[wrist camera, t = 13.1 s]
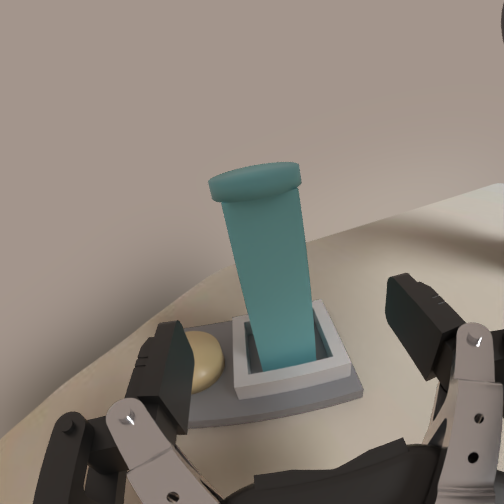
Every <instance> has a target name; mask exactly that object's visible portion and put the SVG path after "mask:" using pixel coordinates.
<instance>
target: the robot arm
mask: <svg viewBox="0 0 504 504" xmlns="http://www.w3.org/2000/svg"><path fill="white" fill-rule="evenodd" d="M501 28H502V36H503V42H504V4H503V9H502V18H501ZM385 314H386V319H387V322H388V324H389V325H390V327H391V328H392V330H393V331H394V333H395V334H396V336H397V337H398V339H399V340H400V342H401V343H402V345H403V346H404V348H405V349H406V351H407V352H408V354H409V355H410V357H411V358H412V360H413V361H414V363H415V365H416V366H417V368H418V369H419V371H420V372H421V374H422V376H423V377H424V379H425V380H426V381H428V380H430V379H433V378H435V377H437V378H438V380H439V382H438V384H437V389H436V394H435V400H434V405H433V409H432V414H431V418H430V423H429V426H428V430H427V432H426V434H425V437H424V439H423V442H422V444H409V445H406V443H405V441H404V439H403V437H402V438H400V439H398V440H395V441H393V442H390V443H387V444H385V445H382V446H379V447H376V448H374V449H371V450H368V451H367V452H365V453H363V454H362V455H360V456H358V457H356V458H355V459H353V460H351V461H349V462H347V463H346V464H344V465H342V466H340V467H338V468H336V469H331V470H288V471H282V472H276V473H269V474H261V475H254V484H251V485H248V486H246V487H244V488H241V489H239V490H238V491H236V492H234V493H232V494H231V495H230V496H228V497H227V498H225V499H224V498H223V497H222V496H221V495H220V494H219V493H218V492H217V491H216V490H215V489H214V488H213V487H212V486H211V485H210V484H209V483H208V482H207V480H206V479H205V478H204V477H203V476H202V475H201V474H200V473H199V472H198V470H197V469H196V468H195V467H194V466H193V464H192V463H191V462H190V461H189V460H188V458H187V457H186V456H185V455H184V454H183V452H182V451H181V450H180V448H179V447H178V446H177V445H176V435H187V431H188V420H189V410H190V401H191V391H192V383H193V374H194V366H195V360H194V354H193V351H192V348H191V346H190V343H189V341H188V339H187V336H186V334H185V332H184V329H183V327H182V325H181V323H180V321H178V320H177V321H170V322H163V323H159V324H158V327H157V330H156V333H155V336H154V337H149V338H148V339H147V341H146V342H145V343H144V344H143V345H142V347H141V349H140V352H139V355H138V359H137V361H136V364H135V368H134V370H133V373H132V376H131V379H130V382H129V385H128V389H127V392H126V395H125V398H124V399H121V400H119V401H117V402H115V403H114V404H113V405H112V406H111V407H110V408H109V410H108V412H107V415H106V416H103V417H99V418H95V419H91V420H86V419H85V418H84V417H83V416H82V415H81V414H80V413H78V412H68V413H66V414H64V415H62V416H61V417H60V418H59V419H58V420H57V422H56V423H55V426H54V428H53V431H52V434H51V437H50V441H49V444H48V447H47V450H46V453H45V457H44V460H43V464H42V467H41V471H40V475H39V479H38V483H37V487H36V491H35V496H34V501H33V504H124V493H125V483H126V475H127V477H128V480H129V481H130V483H131V485H132V487H133V488H134V490H135V492H136V493H137V495H138V497H139V498H140V500H141V501H142V503H143V504H504V472H502V471H499V470H497V464H498V458H499V450H500V442H501V432H502V417H503V418H504V329H503V330H497V331H491V332H490V331H489V330H488V329H487V328H486V327H485V326H483V325H481V324H478V323H472V322H471V323H466V322H465V321H464V320H463V319H462V318H461V317H460V316H459V315H458V314H457V313H456V312H455V311H454V310H453V309H452V308H451V307H450V306H449V305H448V304H447V303H446V302H445V301H444V300H443V299H442V298H441V297H440V296H439V295H438V294H437V293H436V292H435V291H434V290H433V289H432V288H431V287H430V286H428V285H426V284H424V283H422V282H417V281H416V280H415V279H413V278H412V277H411V276H410V275H409V274H408V273H403V274H400V275H396V276H392V277H389V279H388V282H387V294H386V306H385ZM87 465H88V466H89V469H88V474H87V480H86V485H85V491H84V488H83V485H84V479H85V474H86V469H87ZM127 470H130V471H128V472H127Z"/></svg>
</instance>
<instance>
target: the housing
mask: <svg viewBox="0 0 504 504" xmlns="http://www.w3.org/2000/svg"><path fill="white" fill-rule="evenodd" d="M312 309H313V321H314V333H315V347H316V361H313V362H309V363H305V364H300V365H296V366H291V367H286V368H281V369H276V370H271V371H266V372H263V370H262V366H261V362H260V358H259V355H258V351H257V347H256V343H255V339H254V335H253V331H252V327H251V324H250V320H249V316H248V314H247V315H242V316H236V317H232V321H227V322H221V323H215V324H209V325H203V326H197V327H190V328H184V332H185V334H186V336H187V339H188V341H189V343H190V346H191V348H192V351H193V354H194V360H195V366H194V374H193V383H192V391H191V401H190V410H189V420H188V428H204V427H216V426H226V425H235V424H243V423H251V422H257V421H264V420H270V419H276V418H281V417H286V416H291V415H296V414H301V413H305V412H310V411H314V410H318V409H322V408H326V407H330V406H334V405H337V404H341V403H344V402H348V401H351V400H354V399H358V398H361V397H362V396H363V390H364V389H363V387H362V384H361V382H360V380H359V378H358V375H357V373H356V371H355V369H354V367H353V364H352V362H351V360H350V358H349V356H348V353H347V351H346V349H345V347H344V345H343V343H342V341H341V338H340V336H339V334H338V332H337V330H336V328H335V326H334V324H333V322H332V319H331V317H330V315H329V313H328V311H327V309H326V307H325V305H324V303H323V301H322V299H318V300H314V301H312Z"/></svg>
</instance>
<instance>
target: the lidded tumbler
mask: <svg viewBox="0 0 504 504" xmlns="http://www.w3.org/2000/svg"><path fill="white" fill-rule="evenodd" d="M208 183H209V187H210V192H211V195H212V199H213V200H214V201H216V202H222V203H221V204H222V209H223V213H224V217H225V221H226V225H227V229H228V234H229V238H230V243H231V246H232V251H233V255H234V259H235V263H236V267H237V271H238V276H239V280H240V284H241V288H242V292H243V296H244V300H245V304H246V308H247V312H248V316H249V320H250V324H251V327H252V331H253V335H254V339H255V343H256V347H257V351H258V355H259V358H260V362H261V366H262V370H263V372H266V371H271V370H276V369H281V368H286V367H291V366H296V365H300V364H305V363H309V362H313V361H316V347H315V333H314V321H313V309H312V298H311V288H310V278H309V269H308V260H307V251H306V243H305V235H304V227H303V219H302V212H301V205H300V198H299V191H298V188H297V187H298V186H299V185H300V184H301V176H300V169H299V164H297V163H293V162H277V163H268V164H260V165H254V166H249V167H244V168H240V169H236V170H232V171H228V172H225V173H222V174H220V175H217V176H215V177H213V178H211V179H210V180H209V181H208Z"/></svg>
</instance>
